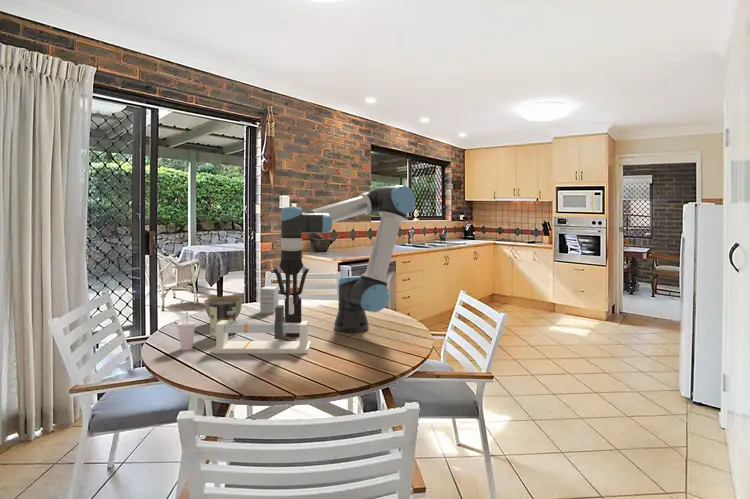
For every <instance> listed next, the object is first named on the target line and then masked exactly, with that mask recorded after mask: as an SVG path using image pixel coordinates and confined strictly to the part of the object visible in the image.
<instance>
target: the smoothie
mask: <svg viewBox="0 0 750 499" xmlns="http://www.w3.org/2000/svg"><path fill="white" fill-rule="evenodd" d="M185 316H186V317H185V321H179V322H177V323H176V327H177V329H178V337H179V338H178V339H179V343H180V344H179V345H180V350H181V351H190V350H193V344H194V338H195V337H194V336H195V326H196V325H197V323H196V321H193V320H189V312H188V310H187V311H185Z"/></svg>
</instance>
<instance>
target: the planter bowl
mask: <svg viewBox="0 0 750 499" xmlns="http://www.w3.org/2000/svg"><path fill="white" fill-rule="evenodd" d="M216 300H235V301H236V319H238V316H239V315H240V313H241V310H242V306H243V298H241V297H236V296H235V297H234V296H217V297H212V298H206V299H205V300H204V305H205V312H206V315H207V317H208V318H209V319H210V305H209V303H210V302H212V301H216Z"/></svg>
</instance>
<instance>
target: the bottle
mask: <svg viewBox="0 0 750 499" xmlns="http://www.w3.org/2000/svg"><path fill="white" fill-rule="evenodd" d="M298 290H299V286H297V291H298ZM290 295H293V285H292V286H291V285H290ZM301 322H302V298H301V297H300V296H299V295H297V304H296V305H294V313H293V314H289V305H286V297H285V298H284V323H301ZM284 336H286V337H290V338H294V337H295V338H296V337H300V333H285V334H284Z"/></svg>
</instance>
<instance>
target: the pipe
mask: <svg viewBox="0 0 750 499" xmlns="http://www.w3.org/2000/svg"><path fill="white" fill-rule="evenodd" d="M224 333H236V334H275V322H236V323H226V324H224ZM282 333H300V323H285V322H284V323H283V324H282Z"/></svg>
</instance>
